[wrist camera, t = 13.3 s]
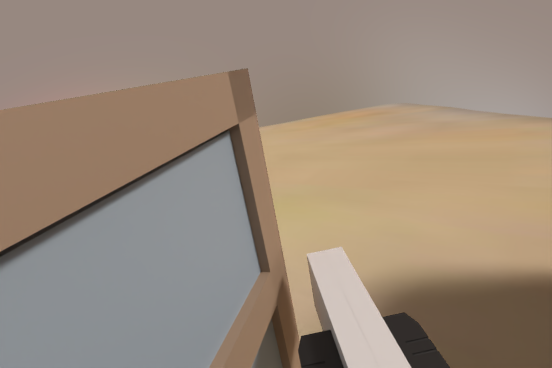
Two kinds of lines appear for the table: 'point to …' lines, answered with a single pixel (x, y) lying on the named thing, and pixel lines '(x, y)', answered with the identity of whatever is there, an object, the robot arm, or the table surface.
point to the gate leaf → (142, 232)
